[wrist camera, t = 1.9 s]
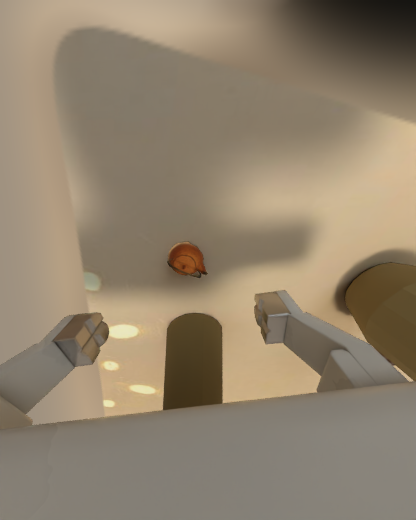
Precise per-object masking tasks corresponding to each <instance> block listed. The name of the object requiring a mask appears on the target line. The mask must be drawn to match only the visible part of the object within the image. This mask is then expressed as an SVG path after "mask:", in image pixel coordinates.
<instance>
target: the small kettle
mask: <svg viewBox="0 0 416 520" xmlns="http://www.w3.org/2000/svg"><path fill="white" fill-rule="evenodd" d="M167 263H168V265H169V266H170V267H172V269H173V270H174V271H175V272H177V273H179V274H181V275H190V276H194V277H197V278H200V277H201V273H202V274H205V275H207V274H208V273H207V272H206V269H205V266H204V265H203V255H202V253H201V252H200V250H199V249H198V248H197V247H196V246H194V245H191V244H190V243H189V242H182V243H176V244H175V245H174V246H173V247H172V248H171V250H170V251H169V254H168V261H167ZM197 271H198V272H199V274H200V275H198V276H197V275H192V274H193V273H195V272H197ZM200 272H201V273H200Z"/></svg>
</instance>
